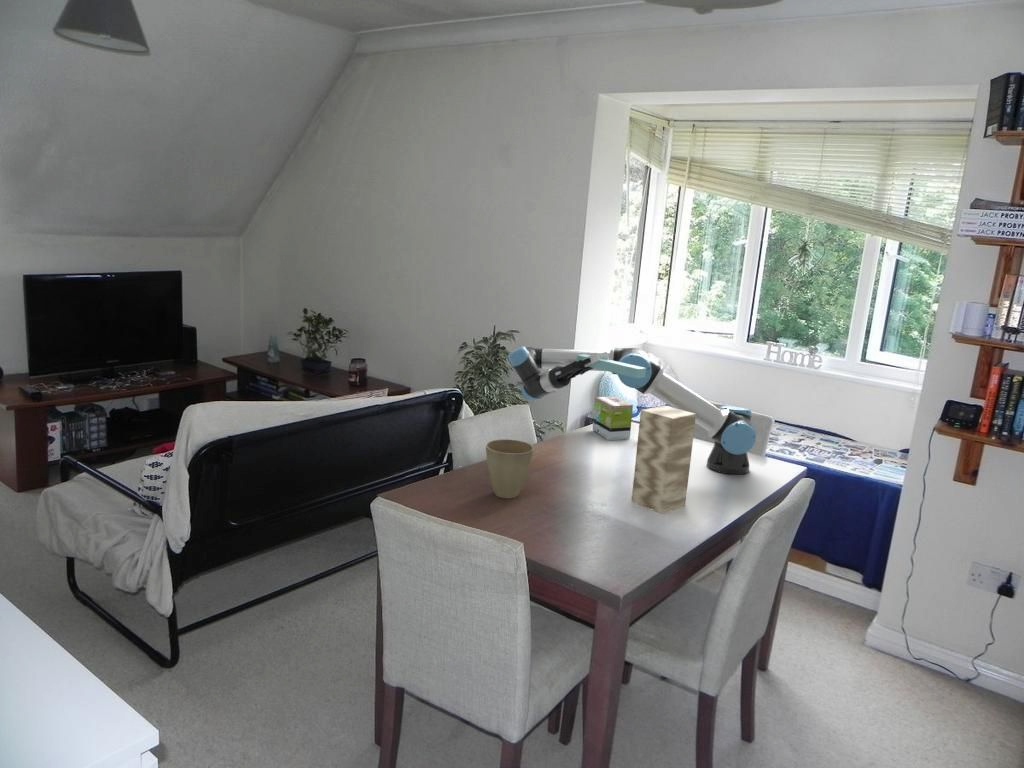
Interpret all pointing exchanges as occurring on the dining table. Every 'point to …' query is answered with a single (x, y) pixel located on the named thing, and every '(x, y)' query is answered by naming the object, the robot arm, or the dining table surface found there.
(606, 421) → the tea box
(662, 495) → the wooden stand
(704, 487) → the dining table surface
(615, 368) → the teal block
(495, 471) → the plant pot
